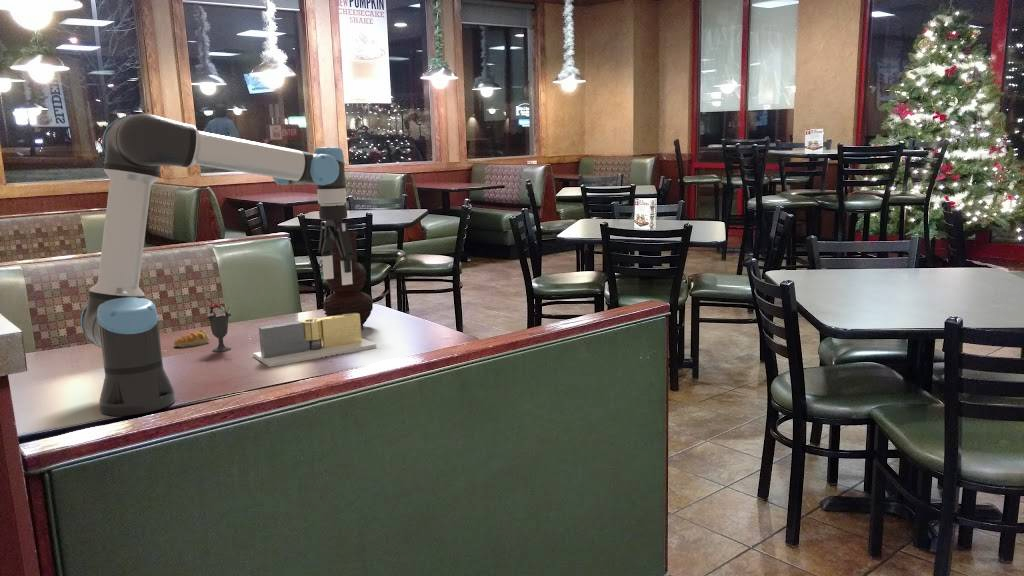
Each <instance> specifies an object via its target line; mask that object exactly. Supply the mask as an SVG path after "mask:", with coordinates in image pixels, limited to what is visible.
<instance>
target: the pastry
mask: <svg viewBox="0 0 1024 576" xmlns="http://www.w3.org/2000/svg"><path fill="white" fill-rule="evenodd" d="M209 342H210V337H209V335H208V334H207V331H206V330H204V329H201V330H197V331H191V332H188V333H185V334H184V335H181V336H180V337H178V338H176V339H175V340H174V343H173V346H174V347H180V348H186V347H194V346H200V345H204V344H209Z"/></svg>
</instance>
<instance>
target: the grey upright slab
mask: <svg viewBox="0 0 1024 576" xmlns="http://www.w3.org/2000/svg"><path fill="white" fill-rule="evenodd" d="M312 321H316V320H315V319H313V320H310V322H312ZM258 332H259V333H258V336H259V345H260V347H259V348H260V352H261V357H263V358H271V357H277V356H283V355H288V354H294V353H300V352H305V351H308V350H319V349H322V342H321V339H318V340H304V332H303V323H302V322H301V320H299V321H289V322H284V323H279V324H278V323H277V324H270V325H265V326H259V327H258Z"/></svg>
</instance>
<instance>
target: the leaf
mask: <svg viewBox="0 0 1024 576" xmlns="http://www.w3.org/2000/svg"><path fill="white" fill-rule="evenodd" d="M313 319H315V320H316V321H312V322H310V320H313ZM300 322H302V323H303V332H304V340H318V339H321V342H322V347H323V348H329V347H335V346H340V345H346V344H352V343H358V342H362V328H361V324H360V314H358V313H350V314H343V315H336V316H330V317H326V316H324V317H317V318H306V319H305V318H304V319H303V320H300Z"/></svg>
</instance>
